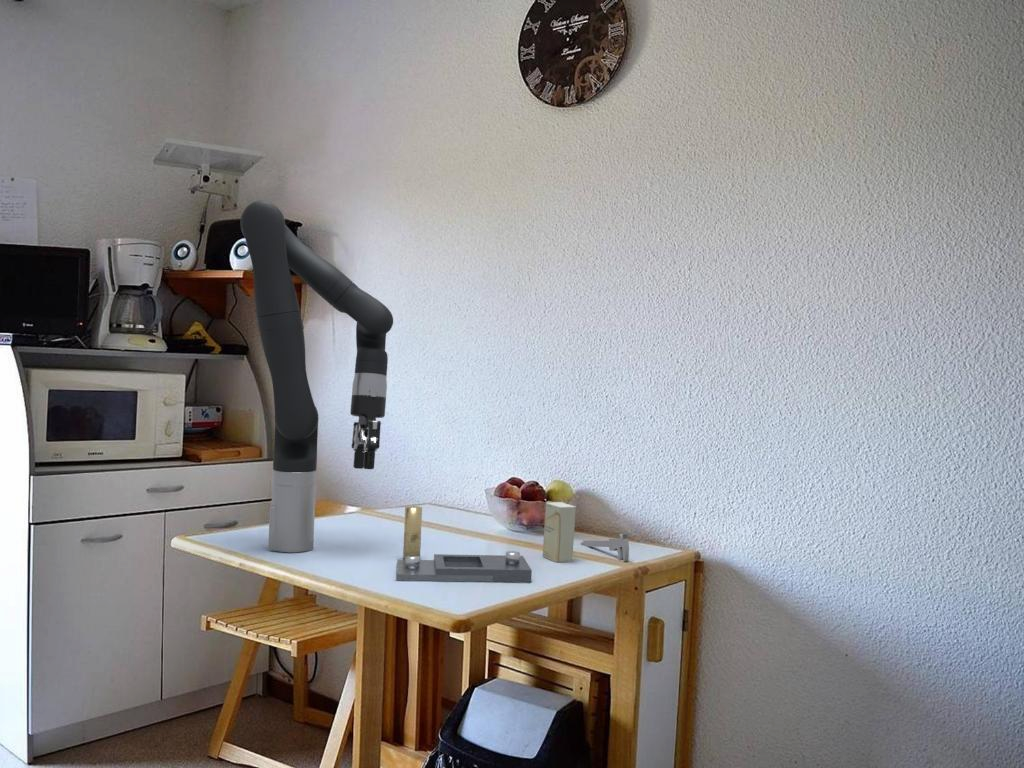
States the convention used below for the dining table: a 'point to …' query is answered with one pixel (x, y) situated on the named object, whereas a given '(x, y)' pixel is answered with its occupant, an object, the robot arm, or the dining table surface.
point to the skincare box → (559, 531)
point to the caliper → (612, 545)
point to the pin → (412, 531)
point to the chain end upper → (487, 566)
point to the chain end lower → (433, 571)
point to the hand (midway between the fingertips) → (363, 468)
